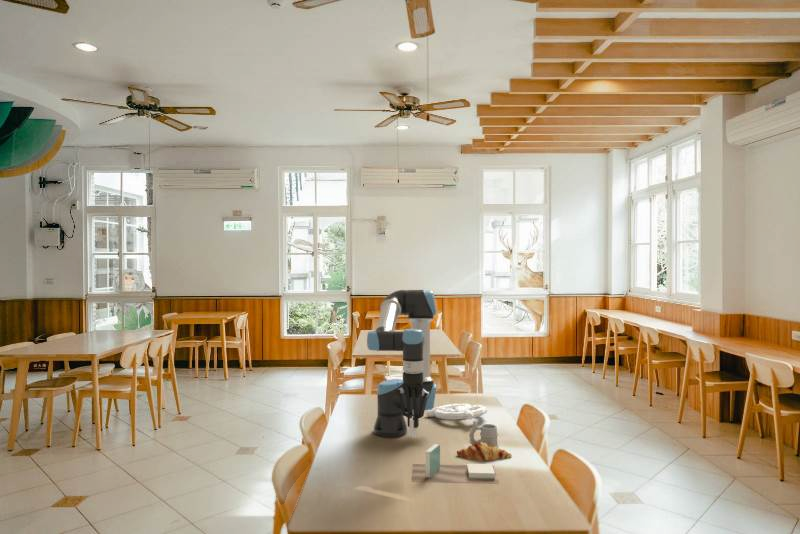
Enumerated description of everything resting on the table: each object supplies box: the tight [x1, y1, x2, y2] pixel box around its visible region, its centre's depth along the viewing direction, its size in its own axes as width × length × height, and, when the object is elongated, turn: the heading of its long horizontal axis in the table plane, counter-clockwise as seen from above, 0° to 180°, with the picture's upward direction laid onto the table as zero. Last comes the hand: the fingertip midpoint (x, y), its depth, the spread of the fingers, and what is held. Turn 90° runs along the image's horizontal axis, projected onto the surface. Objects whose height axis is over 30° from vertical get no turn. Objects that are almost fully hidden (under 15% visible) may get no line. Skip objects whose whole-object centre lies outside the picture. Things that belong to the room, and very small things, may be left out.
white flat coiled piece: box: [425, 402, 488, 420], centre depth 244 cm, size 28×24×6 cm
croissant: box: [456, 442, 513, 462], centre depth 193 cm, size 21×10×8 cm, turn 87°
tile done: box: [466, 463, 496, 479], centre depth 177 cm, size 8×9×2 cm
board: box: [411, 463, 500, 485], centre depth 177 cm, size 15×30×1 cm, turn 87°
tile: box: [425, 443, 441, 478], centre depth 177 cm, size 8×2×9 cm, turn 152°
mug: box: [468, 420, 500, 448], centre depth 202 cm, size 8×12×12 cm, turn 84°
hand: (413, 436), depth 181 cm, fingers closed
